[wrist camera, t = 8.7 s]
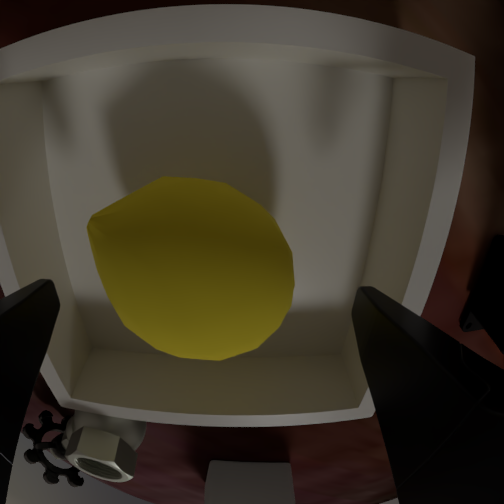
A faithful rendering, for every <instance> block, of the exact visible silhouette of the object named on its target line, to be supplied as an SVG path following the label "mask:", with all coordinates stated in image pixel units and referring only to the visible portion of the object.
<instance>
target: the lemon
mask: <svg viewBox="0 0 504 504" xmlns="http://www.w3.org/2000/svg"><path fill="white" fill-rule="evenodd" d="M86 229H87V233H88V238H89V242H90V246H91V250H92V254H93V257H94V261H95V265H96V269H97V271H98V274H99V277H100V279H101V282H102V284H103V287H104V289H105V292H106V294H107V296H108V298H109V300H110V302H111V304H112V305H113V307H114V309H115V311H116V312H117V314H118V316H119V317H120V319H121V321H122V322H123V324H124V326H125V327H127V328H128V329H129V330H131V331H132V332H133V333H135V334H136V335H137V336H139V337H140V338H141V339H143V340H144V341H146V342H147V343H148V344H150V345H151V346H153V347H154V348H155V349H157V350H160V351H163V352H166V353H168V354H171V355H174V356H177V357H180V358H190V359H202V360H216V361H221V360H224V359H227V358H230V357H233V356H236V355H239V354H242V353H245V352H248V351H251V350H254V349H256V348H258V347H259V346H260V345H261V344H262V343H263V342H264V341H265V340H266V339H267V338H268V337H270V336H271V335H272V334H273V333H274V332H275V331H276V330H277V329H278V328H279V327H280V325H281V323H282V322H283V320H284V318H285V316H286V314H287V312H288V311H289V309H290V308H291V306H292V299H293V291H294V286H295V280H294V267H293V254H292V251H291V249H290V247H289V245H288V243H287V241H286V239H285V237H284V235H283V233H282V232H281V230H280V228H279V226H278V224H277V222H276V220H275V219H274V218H273V217H272V216H271V215H270V214H269V213H268V212H267V211H266V210H265V209H264V208H263V207H262V206H261V205H260V204H259V203H257V202H256V201H254V200H252V199H251V198H249V197H248V196H246V195H244V194H243V193H241V192H240V191H238V190H237V189H235V188H233V187H232V186H230V185H228V184H227V183H223V182H217V181H211V180H205V179H199V178H186V177H168V176H163V177H161V178H159V179H157V180H155V181H153V182H151V183H149V184H147V185H146V186H144V187H142V188H140V189H138V190H136V191H135V192H133V193H131V194H129V195H127V196H125V197H123V198H122V199H120V200H118V201H116V202H114V203H112V204H111V205H109V206H107V207H105V208H103V209H102V210H100V211H98V212H96V213H95V214H93V215H92V216H91V218H90V220H89V222H88V224H87V227H86Z"/></svg>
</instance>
